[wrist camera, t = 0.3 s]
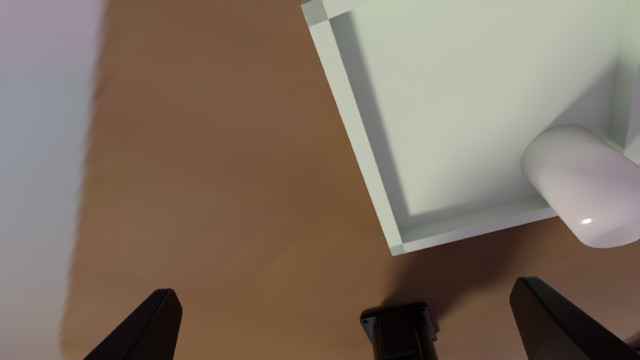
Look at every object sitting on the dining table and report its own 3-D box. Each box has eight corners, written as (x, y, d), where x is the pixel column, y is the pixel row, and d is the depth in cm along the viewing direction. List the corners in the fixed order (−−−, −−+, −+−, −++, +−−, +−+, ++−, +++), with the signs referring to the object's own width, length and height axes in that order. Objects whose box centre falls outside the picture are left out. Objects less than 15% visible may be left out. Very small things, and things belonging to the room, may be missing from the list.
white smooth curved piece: (591, 171, 23) (665, 235, 18) (521, 190, 24) (573, 256, 19) (597, 114, 20) (684, 170, 16) (519, 137, 21) (578, 197, 16)
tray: (611, 179, 24) (632, 197, 22) (388, 237, 27) (392, 256, 26) (661, -154, 14) (706, -166, 12) (302, -2, 17) (300, 5, 16)
